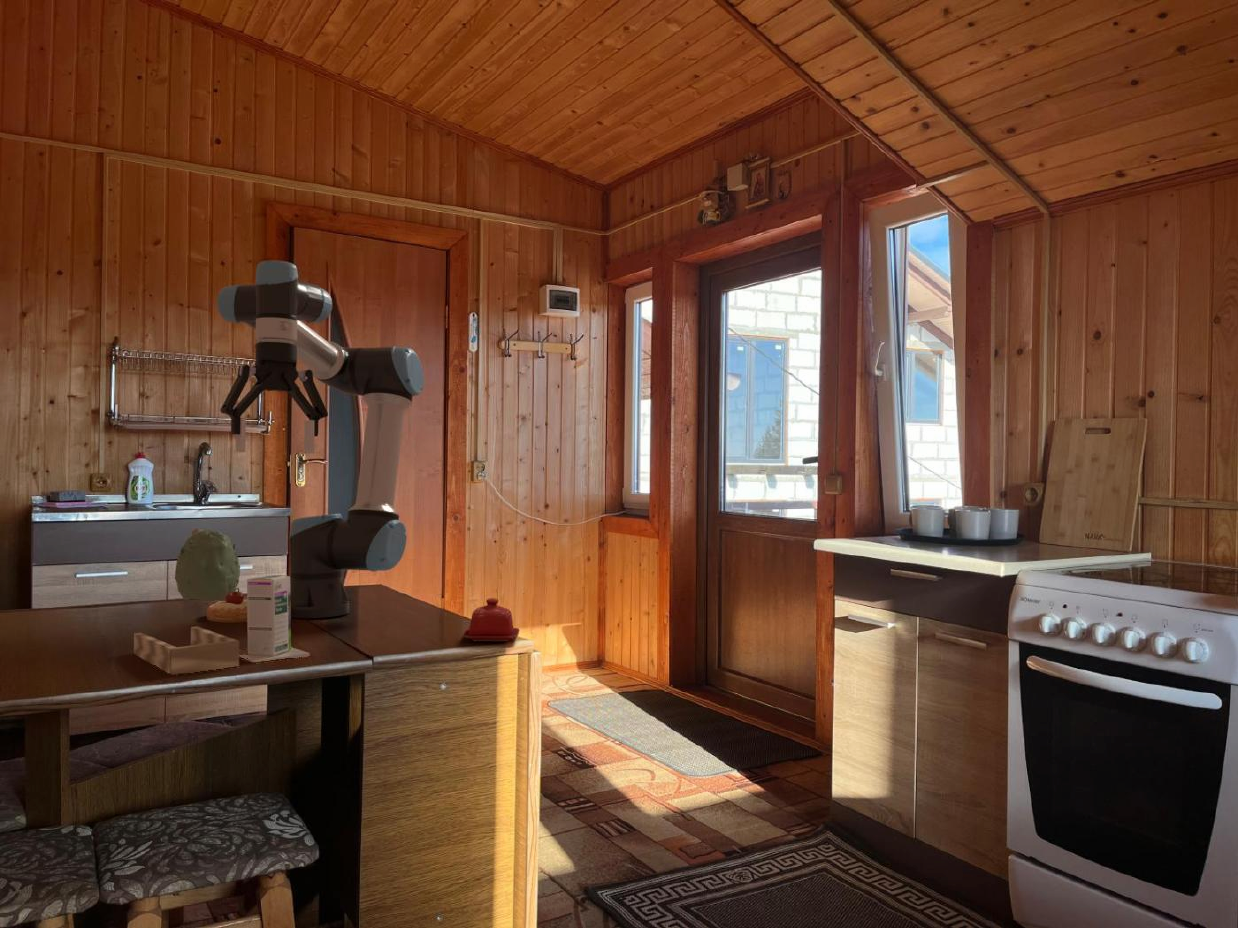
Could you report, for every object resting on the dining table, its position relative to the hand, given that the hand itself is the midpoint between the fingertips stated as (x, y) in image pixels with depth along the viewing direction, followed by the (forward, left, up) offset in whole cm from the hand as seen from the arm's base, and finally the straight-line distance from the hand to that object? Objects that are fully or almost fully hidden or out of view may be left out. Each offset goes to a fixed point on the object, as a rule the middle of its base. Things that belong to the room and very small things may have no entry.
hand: (275, 453), depth 181 cm
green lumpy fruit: (-68, +12, -39) cm, 79 cm away
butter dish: (+13, +42, -39) cm, 59 cm away
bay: (-2, -16, -39) cm, 42 cm away
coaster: (+2, -2, -39) cm, 39 cm away
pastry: (-36, +7, -39) cm, 53 cm away
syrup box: (+2, -2, -38) cm, 38 cm away
